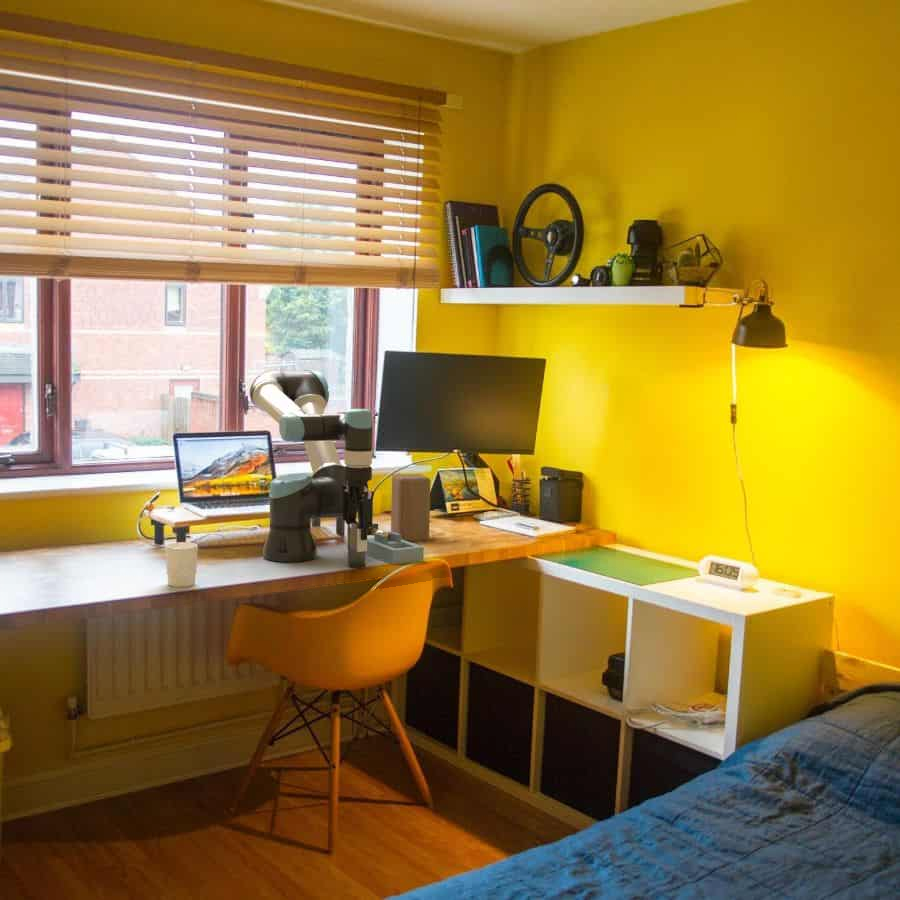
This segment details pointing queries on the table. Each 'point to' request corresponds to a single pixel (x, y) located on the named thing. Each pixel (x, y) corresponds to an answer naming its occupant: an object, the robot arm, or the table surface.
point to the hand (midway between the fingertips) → (356, 549)
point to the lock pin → (376, 531)
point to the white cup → (181, 563)
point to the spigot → (354, 548)
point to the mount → (393, 549)
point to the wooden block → (410, 506)
